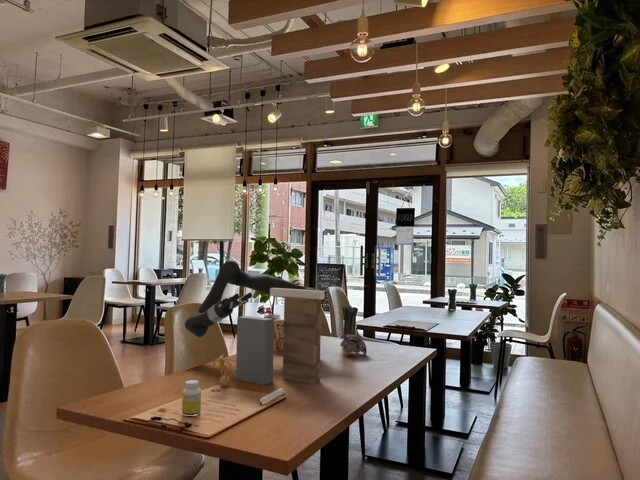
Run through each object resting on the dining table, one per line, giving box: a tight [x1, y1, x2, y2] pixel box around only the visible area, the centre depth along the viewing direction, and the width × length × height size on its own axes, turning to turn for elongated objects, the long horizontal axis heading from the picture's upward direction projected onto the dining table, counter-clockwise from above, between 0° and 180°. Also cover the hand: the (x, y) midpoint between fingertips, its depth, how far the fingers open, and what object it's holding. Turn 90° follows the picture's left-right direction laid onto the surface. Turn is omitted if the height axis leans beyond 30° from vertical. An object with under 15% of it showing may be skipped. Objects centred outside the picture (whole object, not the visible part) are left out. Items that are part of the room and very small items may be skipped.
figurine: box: [213, 354, 234, 388], centre depth 177 cm, size 8×6×12 cm
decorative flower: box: [339, 333, 367, 357], centre depth 239 cm, size 14×12×15 cm
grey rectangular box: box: [235, 315, 275, 386], centre depth 188 cm, size 5×14×24 cm, turn 59°
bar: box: [269, 288, 326, 300], centre depth 193 cm, size 3×24×3 cm, turn 59°
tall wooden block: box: [282, 297, 322, 385], centre depth 190 cm, size 5×14×32 cm, turn 59°
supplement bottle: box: [181, 379, 202, 415], centre depth 146 cm, size 5×5×10 cm
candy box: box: [273, 318, 284, 352], centre depth 250 cm, size 9×4×15 cm, turn 129°
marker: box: [258, 387, 286, 404], centre depth 163 cm, size 3×2×16 cm
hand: (245, 294), depth 211 cm, fingers open, 8 cm apart
